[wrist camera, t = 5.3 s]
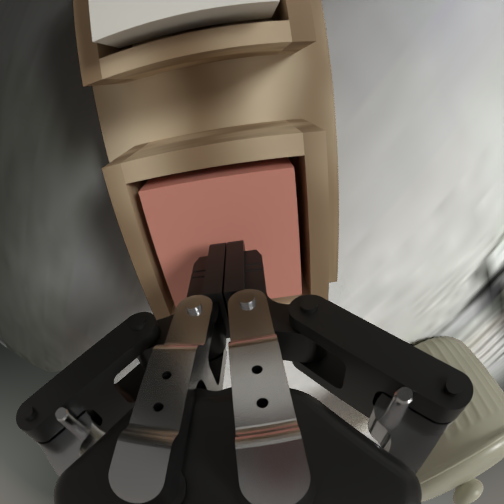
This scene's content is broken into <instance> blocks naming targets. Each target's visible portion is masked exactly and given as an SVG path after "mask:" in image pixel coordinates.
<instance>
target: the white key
mask: <svg viewBox="0 0 504 504" xmlns="http://www.w3.org/2000/svg"><path fill="white" fill-rule="evenodd" d="M88 1H89V14H90V24H91V33H92V42H95V43H100V44H104V45H109V46H113V47H117V48H123V47H126V46H129V45H132V44H135V43H138V42H142V41H145V40H148V39H152V38H156V37H159V36H163V35H167V34H171V33H175V32H180V31H184V30H189V29H194V28H199V27H204V26H210V25H216V24H222V23H229V22H237V21H245V20H255V19H267V18H272V16H273V14H274V12H275V10H276V8H277V6H278V4H279V2H280V0H88Z"/></svg>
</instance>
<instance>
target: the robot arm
mask: <svg viewBox="0 0 504 504" xmlns="http://www.w3.org/2000/svg"><path fill="white" fill-rule="evenodd" d="M226 338H230V339H231V342H229V344H228V345H229V360H230V373H231V385H232V387H231V388H227V389H224V390H223V381H224V373H225V365H226V357H227V351H226ZM136 358H138V360H139V362H140V364H139V365H137V366H136V367H135V368H134V369H133V370H132V371H131V372H129V373H128V374H127V375H126V376H125V377H124V378H122V379H121V380H120V381H119V382H118V383H116V384H114V378H115V376H116V375H117V374H118V373H119V372H120V371H122V370H123V369H124V368H125V367H126V366H127V365H129V364H130V363H131V362H132V361H133V360H135V359H136ZM283 360H287V361H292V362H293V364H294V366H295V367H296V368H297V369H299V370H300V371H302V372H303V373H304V374H306V375H307V376H308V377H310V378H311V379H313V380H314V381H315V382H317V383H318V384H320V385H321V386H323V387H324V388H325V389H327V390H328V391H330V392H331V393H333V394H334V395H335V396H337V397H338V398H340V399H341V400H343V401H344V402H346V403H347V404H349V405H350V406H352V407H353V408H355V409H356V410H358V411H359V412H361V413H362V414H364V415H365V416H367V417H368V418H369V421H368V429H369V432H370V434H371V435H372V437H373V438H374V439H376V440H377V441H378V443H379V444H380V446H381V447H380V446H379V445H377V444H376V443H374V442H373V441H372V440H370V439H369V438H367V437H366V436H365V435H363V434H362V433H361V432H359V431H358V430H356V429H355V428H354V427H352V426H351V425H350V424H348V423H347V422H346V421H344V420H343V419H342V418H340V417H339V416H338V415H337V414H335V413H334V412H333V411H331V410H330V409H329V408H327V407H326V406H325V405H324V404H322V403H321V402H320V401H318V400H317V399H316V398H314V397H312V396H311V395H309V394H307V393H304V392H302V391H299V390H296V389H291V388H289V385H288V381H287V377H286V373H285V368H284V364H283ZM473 391H474V390H473V384H472V382H471V380H470V378H469V377H468V376H467V375H466V374H465V373H463V372H462V371H460V370H458V369H456V368H454V367H452V366H450V365H448V364H446V363H445V362H443V361H441V360H439V359H437V358H435V357H433V356H431V355H429V354H427V353H426V352H424V351H422V350H420V349H418V348H416V347H414V346H412V345H411V344H409V343H407V342H405V341H403V340H401V339H399V338H397V337H395V336H394V335H392V334H390V333H388V332H386V331H384V330H382V329H380V328H379V327H377V326H375V325H373V324H371V323H369V322H367V321H365V320H364V319H362V318H360V317H358V316H356V315H354V314H352V313H351V312H349V311H347V310H345V309H343V308H341V307H339V306H337V305H336V304H334V303H332V302H330V301H328V300H326V299H324V298H323V297H320V296H318V295H312V294H307V295H302V296H299V297H297V298H295V299H294V300H292V302H291V303H290V304H282V303H278V302H275V301H273V300H271V299H270V298H269V297H268V295H267V291H266V282H265V275H264V267H263V260H262V255H261V254H260V253H259V252H258V251H257V250H248V251H245V245H244V241H243V240H240V241H232V242H227V243H226V242H225V243H218V244H211V245H210V246H209V252H208V256H203V257H199V258H198V260H197V261H196V262H195V263H194V265H193V270H192V274H191V279H190V284H189V288H188V293H187V298H185V299H183V300H182V301H181V302H180V303H179V304H178V305H177V307H176V310H175V313H174V314H173V315H171V316H168V317H165V318H162V319H159V320H156V318H155V316H154V315H153V314H151V313H148V312H140V313H136V314H134V315H132V316H130V317H129V318H128V319H126V320H125V321H124V322H123V323H121V324H120V325H119V326H117V327H116V328H115V329H114V330H112V331H111V332H110V333H109V334H107V335H106V336H105V337H104V338H102V339H101V340H100V341H98V342H97V343H96V344H95V345H93V346H92V347H91V348H90V349H88V350H87V351H86V352H85V353H83V354H82V355H81V356H80V357H78V358H77V359H76V360H75V361H73V362H72V363H71V364H70V365H69V366H67V367H66V368H65V369H64V370H62V371H61V372H60V373H59V374H57V375H56V376H55V377H54V378H53V379H52V380H50V381H49V382H48V383H46V384H45V385H44V386H43V387H42V388H40V389H39V390H38V391H37V392H36V393H35V394H33V395H32V396H31V397H30V398H28V399H27V400H26V401H25V402H24V403H23V404H22V405H21V406H20V408H19V409H18V411H17V415H16V421H17V424H18V426H19V428H20V429H22V430H23V431H24V432H25V433H26V434H28V435H29V436H30V437H31V438H33V440H34V441H35V442H36V443H38V444H39V445H40V446H41V447H42V449H43V451H44V453H45V455H46V456H47V458H48V460H49V461H50V463H51V465H52V466H53V468H54V470H55V471H56V473H57V474H58V476H59V479H58V480H57V482H56V486H55V490H54V502H55V504H421V500H422V490H421V485H420V482H419V480H418V477H417V476H416V473H417V472H418V470H419V469H420V468H421V466H422V465H423V463H424V462H425V460H426V459H427V457H428V456H429V454H430V453H431V451H432V450H433V448H434V447H435V445H436V444H437V442H438V441H439V439H440V437H441V436H442V434H443V433H444V432H445V431H446V430H447V429H448V428H449V426H450V425H451V424H452V423H453V422H454V421H455V419H456V418H457V417H458V416H459V415H460V413H461V412H462V411H463V410H464V409H465V407H466V406H467V405H468V403H469V402H470V401H471V399H472V397H473Z"/></svg>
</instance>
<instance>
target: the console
mask: <svg viewBox="0 0 504 504" xmlns="http://www.w3.org/2000/svg"><path fill="white" fill-rule="evenodd" d="M73 8H74V21H75V32H76V41H77V49H78V57H79V64H80V70H81V77H82V83H83V87H85V86H93V92H94V97H95V102H96V107H97V112H98V117H99V122H100V126H101V131H102V135H103V139H104V143H105V147H106V151H107V155H108V159H109V164H107V165H106V166H104V167H103V168H102V171H103V175H104V178H105V182H106V185H107V189H108V192H109V195H110V199H111V202H112V205H113V208H114V211H115V214H116V218H117V221H118V224H119V227H120V229H121V232H122V235H123V238H124V241H125V244H126V247H127V249H128V252H129V255H130V257H131V260H132V263H133V265H134V268H135V271H136V273H137V276H138V278H139V281H140V283H141V286H142V288H143V291H144V293H145V295H146V298H147V300H148V303H149V305H150V307H151V310H152V312H153V314H154V316H155V318H156V320H159V319H162V318H165V317H168V316H171V315H173V314H174V313H175V310H176V307H175V304H174V301H173V299H172V296H171V293H170V290H169V287H168V285H167V282H166V279H165V276H164V273H163V270H162V267H161V264H160V261H159V258H158V255H157V252H156V249H155V246H154V243H153V240H152V237H151V233H150V230H149V227H148V224H147V220H146V217H145V214H144V210H143V207H142V203H141V200H140V196H139V193H138V192H139V191H140V189H141V188H142V187H143V186H144V185H145V184H146V182H147V181H148V180H149V179H150V178H155V177H160V176H165V175H170V174H175V173H181V172H186V171H192V170H198V169H203V168H209V167H216V166H222V165H229V164H235V163H243V162H250V161H258V160H266V159H274V158H283V157H288V159H289V160H290V162H291V163H292V165H293V166H294V171H295V183H296V196H297V210H298V226H299V243H300V262H301V284H302V294H301V295H294V296H287V297H280V298H272V299H271V300H273V301H275V302H278V303H282V304H290V303H291V302H292V300H294V299H295V298H297V297H299V296H302V295H307V294H312V295H318V296H320V297H323V298H324V299H326V300H328V292H329V282H336V281H337V273H338V238H339V189H338V155H337V135H336V119H335V106H334V94H333V83H332V73H331V64H330V56H329V48H328V40H327V33H326V27H325V20H324V14H323V8H322V2H321V0H280V2H279V4H278V6H277V8H276V10H275V12H274V14H273V16H272V18H267V19H255V20H245V21H237V22H229V23H222V24H216V25H210V26H204V27H199V28H194V29H189V30H184V31H180V32H175V33H171V34H167V35H163V36H159V37H156V38H152V39H148V40H145V41H142V42H138V43H135V44H132V45H129V46H126V47H123V48H117V47H113V46H109V45H104V44H100V43H95V42H92V33H91V24H90V14H89V1H88V0H73Z"/></svg>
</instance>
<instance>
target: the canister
mask: <svg viewBox="0 0 504 504" xmlns="http://www.w3.org/2000/svg"><path fill="white" fill-rule="evenodd" d="M414 347H416V348H418V349H420V350H422V351H424V352H426V353H427V354H429V355H431V356H433V357H435V358H437V359H439V360H441V361H443V362H445V363H446V364H448V365H450V366H452V367H454V368H456V369H458V370H460V371H462V372H463V373H465V374H466V375H467V376H468V377H469V378H470V380H471V382H472V384H473V390H474V391H473V397H472V399H471V401H470V402H469V403H468V405H467V406H466V407H465V409H464V410H463V411H462V412H461V413H460V415H459V416H458V417H457V418H456V419H455V421H454V422H453V423H452V424H451V425H450V426H449V428H448V429H447V430H446V431H445V432H444V433H443V434H442V436H441V437H440V439H439V441H438V442H437V444H436V445H435V447H434V448H433V450H432V451H431V453H430V454H429V456H428V457H427V459H426V460H425V462H424V463H423V465H422V466H421V468H420V469H419V470H418V472H417V473H416V476H417V477H418V480H419V482H420V485H421V490H422V500H421V502H424V501H427V500H429V499H432V498H435V497H437V496H439V495H442V494H444V493H446V492H448V491H451V490H453V489H455V488H456V490H455V492H454V495H453V501H454V503H455V504H470V503H472V502H473V501H475V500H476V499H477V498H479V497H480V495H481V494H482V491H483V484H482V483H481V482H480V481H479V480H477V479H475V477H476V476H478V475H480V474H481V473H483V472H484V471H486V470H487V469H489V468H490V467H492V466H493V465H495V464H496V463H497V462H499V461H500V460H501V459H503V458H504V392H503V391H502V389H501V388H500V387H499V385H498V384H497V382H496V381H495V380H494V378H493V377H492V376H491V374H490V373H489V372H488V370H487V369H486V368H485V367H484V365H483V364H482V363H481V362H480V361H479V359H478V358H477V357H476V356H475V355H474V354H473V352H472V351H471V350H470V349H469V348H468V347H467V346H466V345H465V344H464V343H463V342H461V341H460V340H458V339H456V338H453V337H448V336H444V337H442V336H440V337H437V338H436V337H434V338H432V339H427V340H426V341H424V342H420V343H419V344H417V345H414Z"/></svg>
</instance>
